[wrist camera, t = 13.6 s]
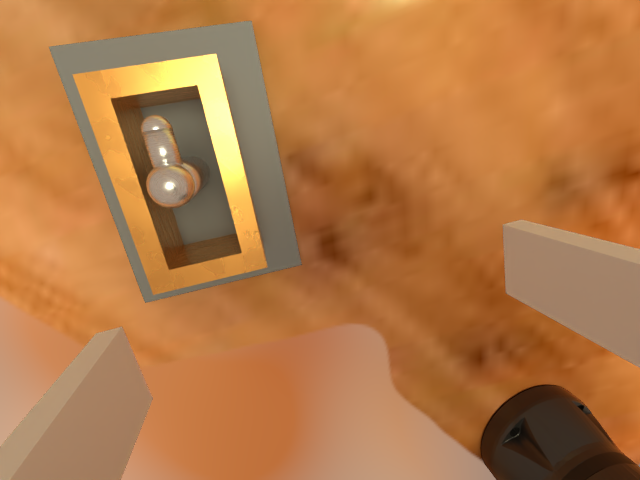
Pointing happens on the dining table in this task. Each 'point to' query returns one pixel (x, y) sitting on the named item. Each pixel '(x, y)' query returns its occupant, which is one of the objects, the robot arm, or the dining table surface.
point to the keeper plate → (197, 139)
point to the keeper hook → (171, 166)
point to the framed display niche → (135, 165)
